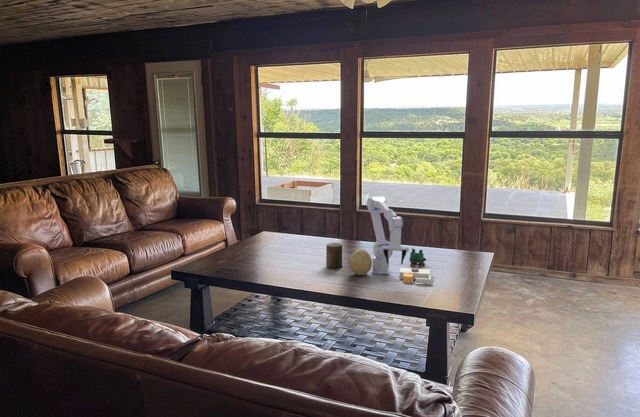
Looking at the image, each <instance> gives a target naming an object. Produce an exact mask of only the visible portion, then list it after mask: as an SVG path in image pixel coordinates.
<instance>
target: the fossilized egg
mask: <svg viewBox="0 0 640 417" xmlns="http://www.w3.org/2000/svg"><path fill="white" fill-rule="evenodd" d="M348 262H349V268H350V271H352V273H353V274H355V275H357V276H364V275H367V274H368V273H369V272H370V270H371V269H372V266H373V259H372V258H371V256H370V254H369V252H368V251H367V250H365V249H363V248H358V249H356V250H355V251H353V252H352V253H351V255H350V258H349V261H348Z"/></svg>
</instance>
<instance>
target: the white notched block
mask: <svg viewBox="0 0 640 417" xmlns="http://www.w3.org/2000/svg"><path fill="white" fill-rule="evenodd" d="M404 273H407V274H413V280H415V283H421V284H420V285H425V284H431V285H432V277H431V269H430V268H417V267H416V268H414V267H413V268H412V267H399V279H403V274H404ZM422 283H423V284H422Z"/></svg>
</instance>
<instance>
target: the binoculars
mask: <svg viewBox="0 0 640 417" xmlns="http://www.w3.org/2000/svg"><path fill="white" fill-rule="evenodd" d="M418 251H419V252H416V249H415V248H411V252H410V253H409V266H410V267H415V265H417V267H418V268H422V267H423V266H425V265H426V264H425V262H426V261H427V258H425V256H424V255H425V254H424V253H423V249H419V250H418Z"/></svg>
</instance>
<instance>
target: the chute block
mask: <svg viewBox="0 0 640 417" xmlns="http://www.w3.org/2000/svg"><path fill="white" fill-rule="evenodd" d="M413 280H414V279H413V274H407V273H404V274H403V278H402V282H403V283H409V282H413Z"/></svg>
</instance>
